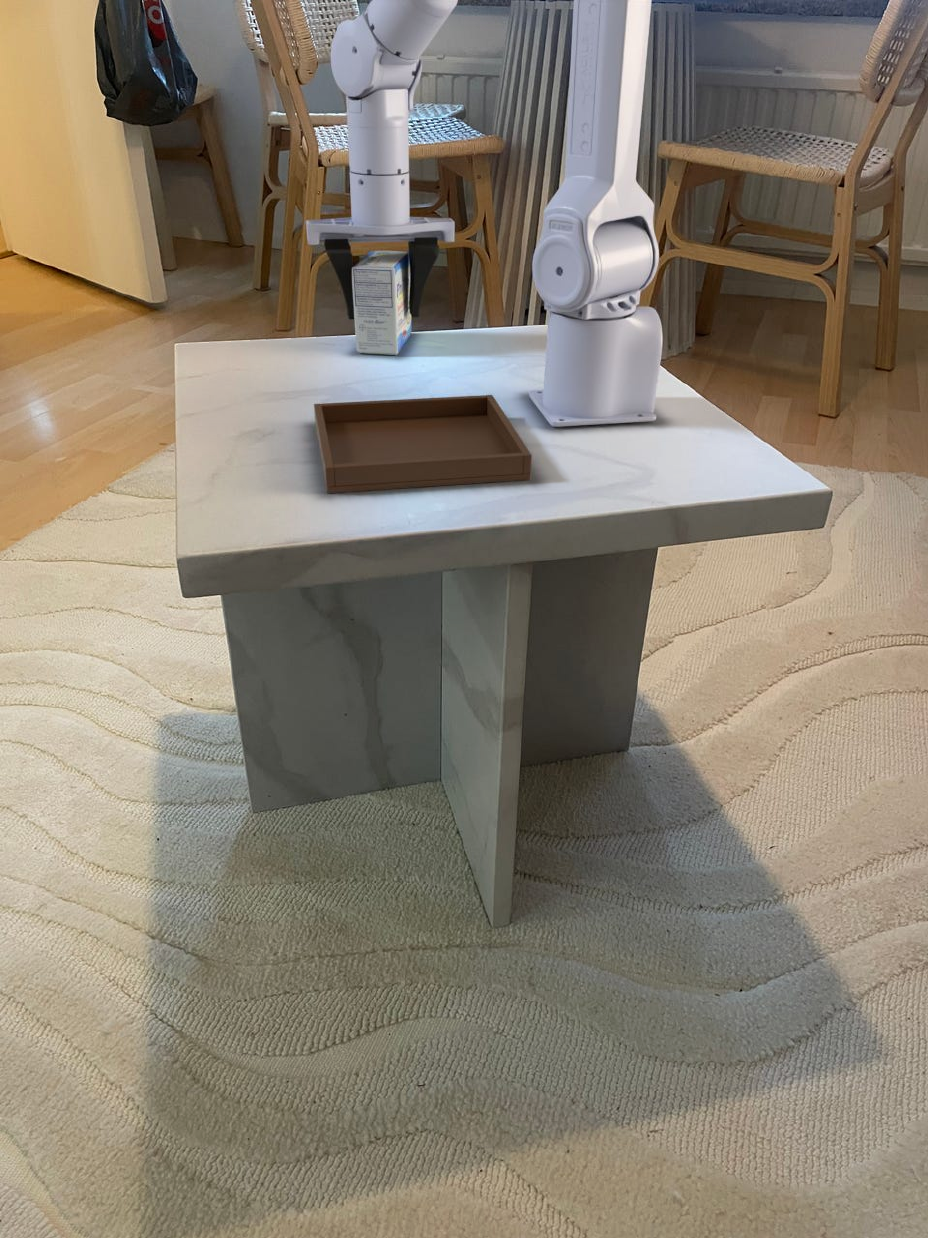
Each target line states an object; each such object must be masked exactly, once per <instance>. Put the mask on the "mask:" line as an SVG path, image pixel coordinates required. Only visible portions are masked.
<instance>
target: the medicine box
mask: <svg viewBox="0 0 928 1238" xmlns="http://www.w3.org/2000/svg"><path fill="white" fill-rule="evenodd" d="M352 288H353V303H354V319H353V320H354V333H355V345H356V346H355V347H356V352H357V353H358V354H359V353H361V354H371V355H390V356H391V355H392V356H398V354H399V352H400V351H401V350H402V348H403V346H404V344H405V343H406V342H407V340H408V339H409V338H410V336H411V335H412V316H411V314H410V311H409V292H410V263H409V251H401V250H400V251H399V250H371V251H369V252H368V253H367V254H366V255H365V256H364V257H362V259H361V260H359V261H358V262H357V263H356V264H355V265H353V267H352Z"/></svg>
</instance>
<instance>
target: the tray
mask: <svg viewBox="0 0 928 1238" xmlns="http://www.w3.org/2000/svg"><path fill="white" fill-rule="evenodd" d="M313 409H314V423H315V431H316V437H317V444H318V449H319V452H320V453H319V454H320V460H321V466H322V471H323V477H324V482H325V483H324V484H325V490H326V493H327V494H336V493H337V494H338V493H339V494H340V493H351V492H352V493H353V492H354V493H355V492H367V491H369V492H370V491H380V490H381V491H382V490H396V489H412V488H427V487H439V486H440V487H441V486H455V485H456V486H458V485H470V484H472V485H473V484H486V483H487V484H488V483H500V482H501V483H502V482H517V481H529V480H531V473H532V457H533V455H532V454H531V452H530V450H529V449H528V447H527V446H526V443H524V441H523V440H522V438H521V436H520V435H519V433H518V432H517V431H516V429H515V427H514V425H513V424H512V423H511V421H510V420H509V419H508V417H507V415H506V414H505V412H504V411H503V409H502V407H501V406H500V404H499V403H498V402H497V400H496V398H495V397H494V395H493V394H483V395H482V394H481V395H467V396H466V395H465V396H446V397H445V396H442V397H441V396H440V397H423V398H421V397H420V398H404V399H385V400H384V399H383V400H382V399H381V400H366V401H365V400H364V401H363V400H362V401H345V402H325V403H314V404H313Z"/></svg>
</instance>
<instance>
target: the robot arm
mask: <svg viewBox="0 0 928 1238" xmlns="http://www.w3.org/2000/svg"><path fill="white" fill-rule="evenodd" d="M652 1H653V0H573V11H572V28H571V29H572V30H571V47H570V48H571V49H570V67H569V68H570V69H569V88H568V107H567V108H568V109H567V124H566V125H567V127H566V144H565V145H566V146H565V147H566V149H565V167H564V179H563V182H562V183H561V185H560V186H559V188H558V189H557V190H556V192H555V194H553V196H552V198H551V199H550V201H549V202H548V203H547V205H546V207H545V208H544V210H543V216H542V217H543V218H542V230H541V233H540V234H541V235H540V236H539V240H538V242H537V245H536V247H535V249H534V253H533V256H532V263H531V265H532V267H531V271H532V278H533V283H534V286H535V289H536V291H537V293H538V295H539V297H540V298H541V300H542V301H543V302H544V304H543V305H544V308H543V309H544V310H545V311H548V316H547V317H548V318H547V319H548V320H547V330H546V331H547V333H546V348H545V360H544V375H543V376H544V377H543V389H542V390H541V389H540V390H539V389H538V390H531V391H529V393H528V397H529V398H530V400H531V401H532V402H533V404H534V405H535V407H536V408H537V409H538V411H539V412H540V413H541V414H542V416H543V417H544V418H545V420H546V422H548V424H549V425H550V426H551V427H554V428H555V427H557V428H560V427H575V426H576V427H577V426H590V425H609V424H626V423H628V424H629V423H644V422H646V423H647V422H654V421H656V420H657V414H656V413H655V404H656V397H657V390H658V381H659V376H660V368H661V360H662V354H663V341H664V340H663V326H662V321H661V318H660V315H659V313H658V312H657V310H656V309H655V308H654V307H651V306H645V305H640V300H641V292H642V291H644V290H645V289H646V288H647V287H649V285H650V284H651V283H652V281H653V280H654V278H655V276H656V273H657V271H658V267H659V260H660V250H659V248H660V247H659V243H658V240H657V236H656V234H655V230H654V229H655V228H654V212H655V203H654V202H653V200H652V199H651V198H650V197H649V195H648V194H647V193H646V192H645V191H644V189H643V188H642V187H641V186H640V184H639V183H638V181H637V169H638V158H639V150H640V149H639V148H640V136H641V126H642V114H643V103H644V91H645V79H646V68H647V57H648V46H649V33H650V24H651V23H650V22H651V11H652ZM458 2H459V0H371V1H370V2H369V3H368V5H367V7H366V10H365V12H364V14H358V15H357V16H356V18H355V19H346V20H343V21H341V22H340V23H339V24H338V25H337V28H336V31H335V33H334V35H333V38H332V41H331V44H330V45H331V46H330V65H331V72H332V76H333V79H334V82H335V84H336V85H337V87H338V88H339V90H340V91H341V93H343V94H344V95H345V102H346V103H345V105H346V106H345V107H346V124H347V125H346V126H347V144H348V145H347V146H348V166H349V167H348V168H349V169H348V171H349V188H350V189H349V192H350V213H351V214H350V215H351V216H350V217H339V218H326V219H325V218H324V219H306V220H305V226H306V227H305V228H306V240H307V241H306V242H307V245H308V246H317V245H320V244H323V247H324V251H325V253H326V255H327V257H328V259H329V261H330V263H331V265H332V268H333V270H334V272H335V274H336V276H337V279H338V281H339V284H340V287H341V290H342V293H343V298H344V302H345V308H346V315H347V318H348V320H355V319H354V303H353V288H352V267H354V265H353V253H352V249H351V248H352V246H351V245H350V243H390V242H391V243H392V242H393V243H394V242H395V243H397V242H398V243H399V242H407V244H408V245H407V246H408V253H409V263H410V292H409V311H410V314H411V318H419V317H420V310H421V303H422V299H423V295H424V292H425V288H426V285H427V282H428V280H429V276H430V274H431V272H432V270H433V268H434V265H435V263H436V262H437V259H438V257H439V254H440V245H439V243H438V242H444V243H454V242H455V231H456V230H455V228H456V227H455V221H454V220H453V219H452V218H451V217H422V216H410V213H411V212H410V209H411V208H410V152H409V151H410V150H409V149H410V148H409V147H410V145H409V138H410V137H409V135H410V134H409V117H410V116H411V115H412V111H413V110H414V96H415V92H416V89H417V87H418V85H419V83H420V80H421V76H422V70H423V60H422V59H420V58H421V57H422V55H423V53H424V52H425V51H426V49H427V48H428V46H429V45H430V43H431V42H432V41H433V40H434V38H435V37H436V35H437V33H438V32H439V30H440V29H441V28H442V27H443V25H444V23H445V22H446V21H447V19H448V18H449V16H450V15H451V13H452V12H453V11H454V9H455V8H456V6H457V5H458Z"/></svg>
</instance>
